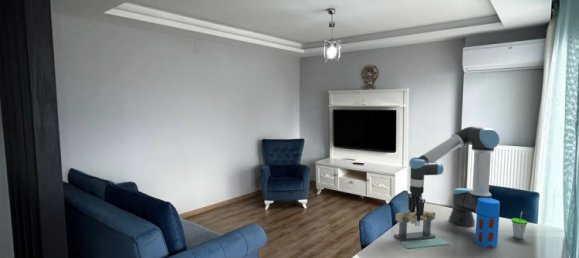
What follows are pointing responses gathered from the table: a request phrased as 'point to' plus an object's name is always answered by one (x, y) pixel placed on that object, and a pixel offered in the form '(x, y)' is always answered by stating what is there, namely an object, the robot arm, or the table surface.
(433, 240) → the mat
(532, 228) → the table surface
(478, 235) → the thermos
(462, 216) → the robot arm
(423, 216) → the rail
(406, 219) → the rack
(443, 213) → the table surface
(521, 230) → the cup
